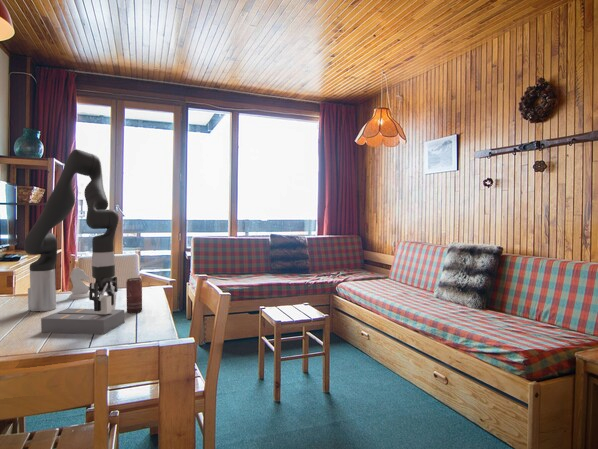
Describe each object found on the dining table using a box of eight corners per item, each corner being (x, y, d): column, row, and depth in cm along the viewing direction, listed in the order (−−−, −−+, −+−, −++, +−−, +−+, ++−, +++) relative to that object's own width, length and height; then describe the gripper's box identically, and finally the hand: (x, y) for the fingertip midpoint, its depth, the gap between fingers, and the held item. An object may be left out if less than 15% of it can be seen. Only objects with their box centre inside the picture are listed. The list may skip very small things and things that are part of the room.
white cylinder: (120, 308, 172) (120, 292, 172) (108, 312, 166) (107, 295, 166) (108, 307, 175) (107, 291, 174) (95, 310, 168) (95, 294, 168)
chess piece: (92, 297, 192) (91, 267, 192) (68, 300, 187) (68, 269, 187) (91, 294, 201) (90, 265, 200) (68, 296, 196) (68, 266, 195)
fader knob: (96, 319, 143) (96, 297, 142) (101, 317, 146) (100, 295, 145) (107, 319, 143) (106, 297, 142) (111, 317, 146) (111, 296, 145)
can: (137, 313, 164) (136, 280, 163) (123, 312, 165) (123, 279, 164) (145, 310, 170) (145, 278, 169) (132, 309, 171) (132, 277, 170)
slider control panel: (41, 332, 139) (41, 318, 139) (67, 321, 153) (67, 308, 152) (103, 334, 137) (103, 319, 137) (124, 322, 151) (124, 309, 151)
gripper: (104, 261, 151) (105, 303, 151) (81, 266, 137) (82, 312, 137) (123, 261, 150) (124, 303, 151) (102, 267, 136) (103, 313, 137)
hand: (104, 307), depth 144 cm, fingers open, 8 cm apart
